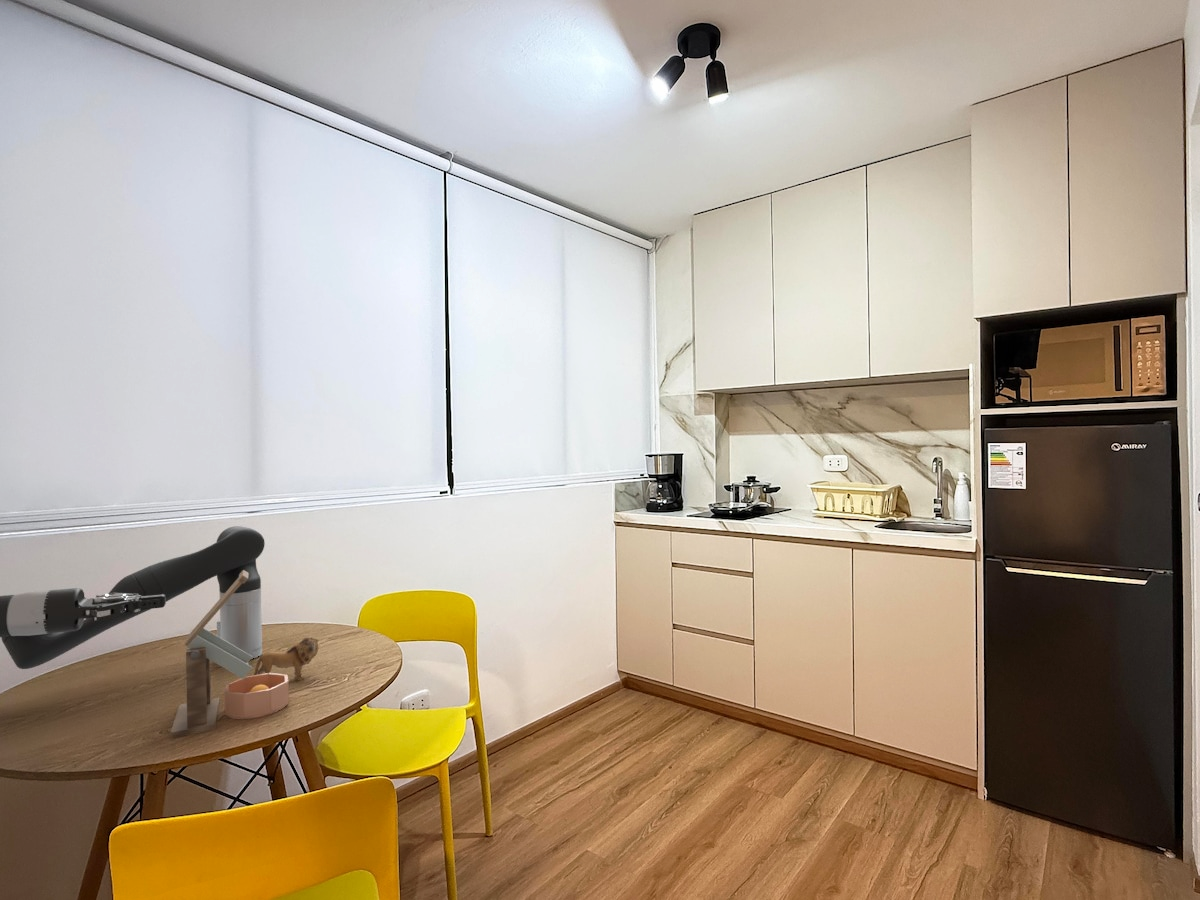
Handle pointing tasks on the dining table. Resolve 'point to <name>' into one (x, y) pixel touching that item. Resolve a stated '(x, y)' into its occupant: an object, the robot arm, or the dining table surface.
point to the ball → (259, 688)
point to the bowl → (256, 696)
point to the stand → (196, 697)
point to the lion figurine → (290, 657)
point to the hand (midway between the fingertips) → (165, 600)
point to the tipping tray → (217, 646)
